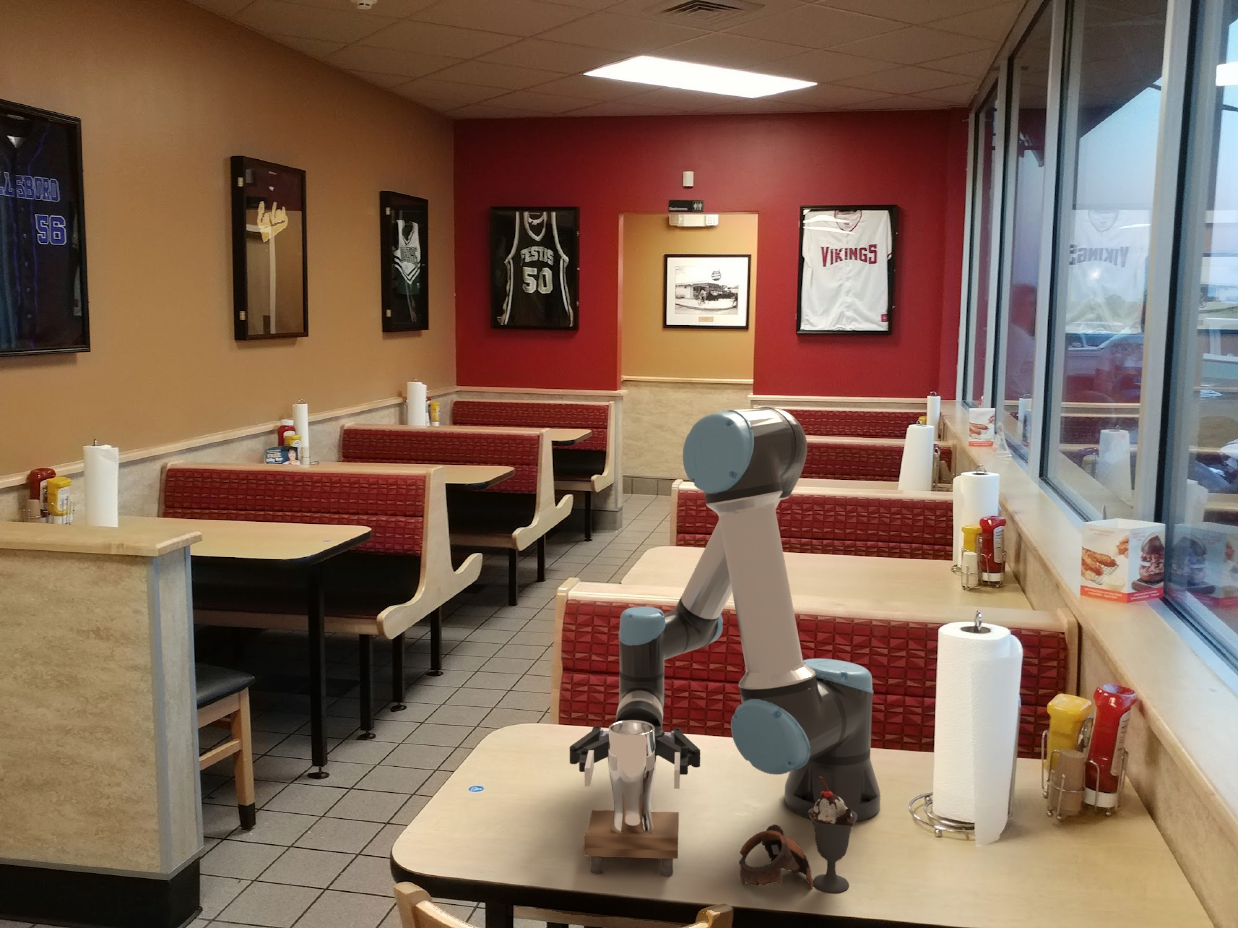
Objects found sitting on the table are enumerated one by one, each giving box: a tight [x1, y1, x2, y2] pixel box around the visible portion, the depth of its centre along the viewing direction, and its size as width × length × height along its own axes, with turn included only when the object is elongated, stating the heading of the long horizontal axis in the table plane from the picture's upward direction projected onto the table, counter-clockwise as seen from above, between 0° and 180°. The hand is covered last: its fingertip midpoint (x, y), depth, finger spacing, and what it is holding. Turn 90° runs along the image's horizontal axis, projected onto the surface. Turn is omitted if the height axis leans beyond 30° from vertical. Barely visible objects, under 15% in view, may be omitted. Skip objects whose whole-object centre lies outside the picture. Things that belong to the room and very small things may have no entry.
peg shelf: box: [583, 809, 680, 877], centre depth 160 cm, size 13×12×6 cm
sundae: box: [807, 776, 857, 894], centre depth 152 cm, size 7×7×15 cm
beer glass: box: [607, 720, 657, 834], centre depth 159 cm, size 7×7×15 cm
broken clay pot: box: [738, 823, 814, 890], centre depth 154 cm, size 12×10×8 cm
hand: (631, 778), depth 155 cm, fingers open, 12 cm apart
